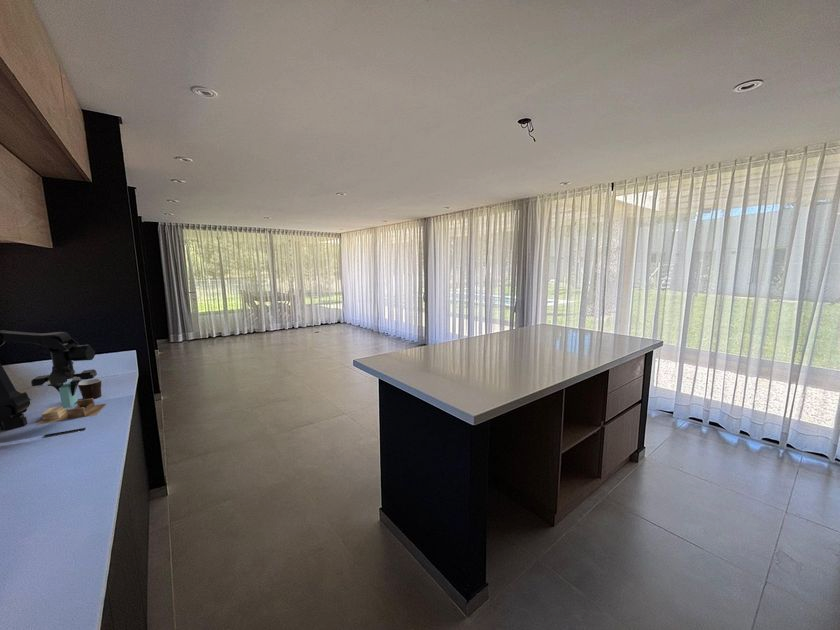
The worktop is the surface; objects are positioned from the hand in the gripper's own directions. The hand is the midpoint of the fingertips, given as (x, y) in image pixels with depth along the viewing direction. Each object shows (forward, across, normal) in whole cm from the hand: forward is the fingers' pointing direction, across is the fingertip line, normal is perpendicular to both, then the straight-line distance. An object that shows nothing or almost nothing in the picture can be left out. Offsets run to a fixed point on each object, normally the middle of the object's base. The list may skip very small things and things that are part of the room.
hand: (68, 396), depth 145 cm
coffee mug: (+13, -1, +28) cm, 31 cm away
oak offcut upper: (+10, -9, +10) cm, 17 cm away
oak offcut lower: (+12, -9, +10) cm, 18 cm away
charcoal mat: (+13, 0, -4) cm, 14 cm away
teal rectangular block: (+4, 0, 0) cm, 4 cm away
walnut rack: (+13, -3, +10) cm, 16 cm away
